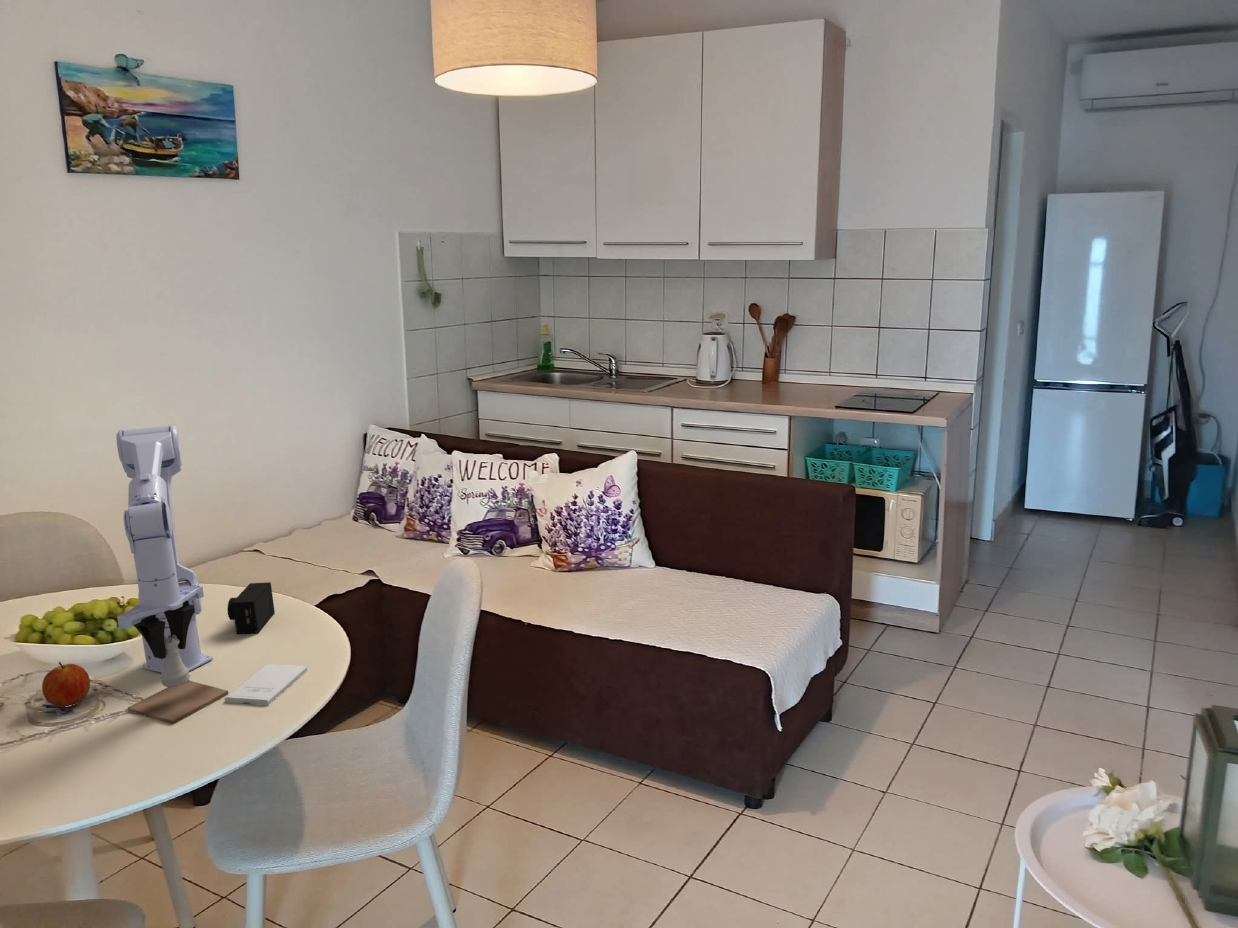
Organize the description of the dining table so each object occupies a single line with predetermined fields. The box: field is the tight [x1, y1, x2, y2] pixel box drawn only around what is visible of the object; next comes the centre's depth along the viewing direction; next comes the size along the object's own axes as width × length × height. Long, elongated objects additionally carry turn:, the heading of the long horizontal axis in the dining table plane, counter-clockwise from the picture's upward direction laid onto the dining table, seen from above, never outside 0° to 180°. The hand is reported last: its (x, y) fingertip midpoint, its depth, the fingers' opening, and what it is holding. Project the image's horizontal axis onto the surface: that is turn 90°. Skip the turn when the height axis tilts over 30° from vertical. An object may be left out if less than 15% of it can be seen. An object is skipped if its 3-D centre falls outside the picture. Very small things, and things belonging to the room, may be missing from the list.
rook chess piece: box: [160, 635, 191, 688], centre depth 156 cm, size 4×4×8 cm
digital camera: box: [226, 581, 276, 636], centre depth 189 cm, size 10×5×7 cm, turn 2°
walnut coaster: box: [127, 679, 229, 725], centre depth 158 cm, size 11×11×1 cm
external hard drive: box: [224, 663, 308, 706], centre depth 163 cm, size 2×8×12 cm
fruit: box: [41, 661, 91, 708], centre depth 158 cm, size 7×7×8 cm
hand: (169, 652), depth 156 cm, fingers closed on rook chess piece, 3 cm apart
